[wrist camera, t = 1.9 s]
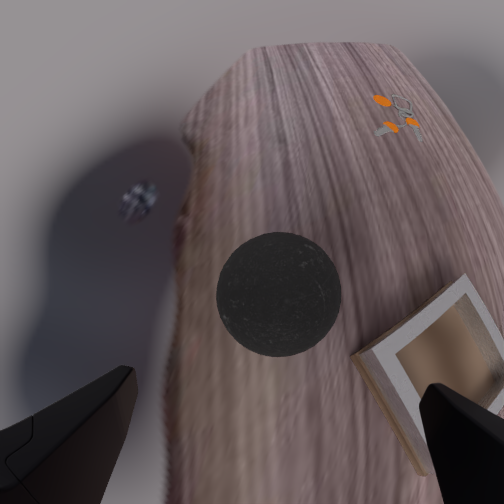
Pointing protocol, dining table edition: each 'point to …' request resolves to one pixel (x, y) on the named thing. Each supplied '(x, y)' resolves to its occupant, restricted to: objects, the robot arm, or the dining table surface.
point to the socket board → (434, 366)
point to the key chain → (394, 128)
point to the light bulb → (278, 294)
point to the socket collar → (383, 352)
